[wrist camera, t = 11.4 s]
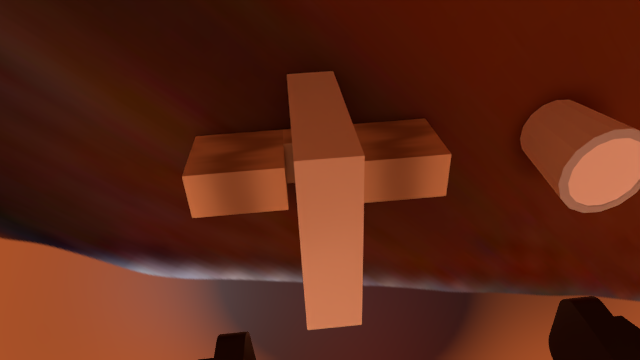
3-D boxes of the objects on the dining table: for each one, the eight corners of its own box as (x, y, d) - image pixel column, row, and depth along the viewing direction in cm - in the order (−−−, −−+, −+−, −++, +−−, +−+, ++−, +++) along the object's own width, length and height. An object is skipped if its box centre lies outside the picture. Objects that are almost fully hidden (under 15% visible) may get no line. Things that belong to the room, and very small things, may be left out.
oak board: (425, 118, 34) (451, 154, 29) (421, 155, 36) (445, 195, 31) (195, 136, 33) (181, 176, 28) (203, 173, 35) (192, 218, 30)
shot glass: (513, 102, 34) (563, 142, 29) (599, 82, 34) (668, 118, 28) (511, 174, 38) (555, 223, 32) (589, 156, 38) (648, 202, 32)
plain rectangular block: (333, 71, 32) (364, 155, 21) (336, 205, 38) (361, 324, 27) (286, 74, 32) (293, 161, 21) (297, 208, 38) (307, 330, 27)
